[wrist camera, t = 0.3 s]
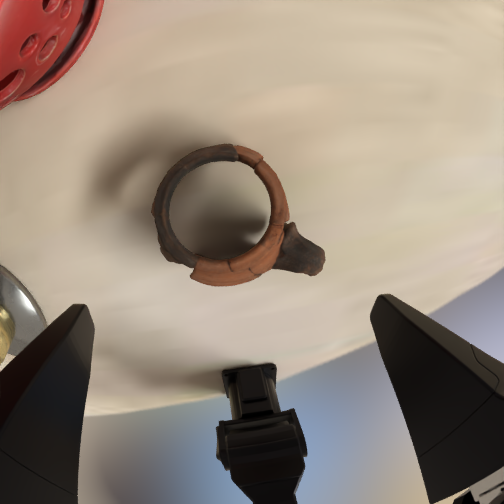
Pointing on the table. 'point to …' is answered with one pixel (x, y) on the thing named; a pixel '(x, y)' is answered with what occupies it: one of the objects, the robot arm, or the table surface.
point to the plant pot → (41, 43)
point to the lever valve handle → (5, 333)
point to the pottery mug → (257, 258)
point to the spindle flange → (20, 311)
